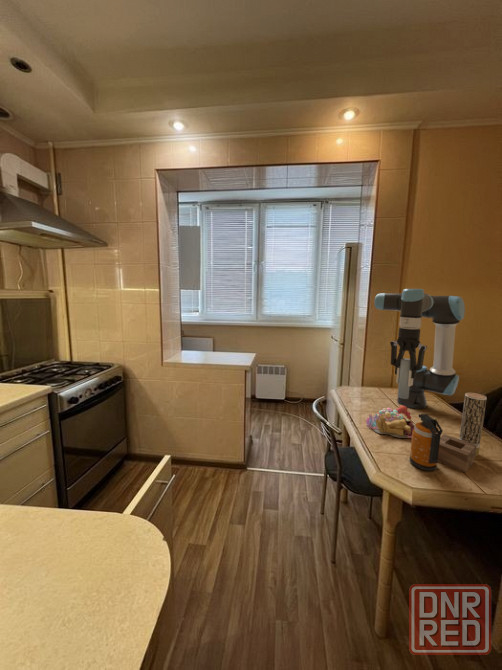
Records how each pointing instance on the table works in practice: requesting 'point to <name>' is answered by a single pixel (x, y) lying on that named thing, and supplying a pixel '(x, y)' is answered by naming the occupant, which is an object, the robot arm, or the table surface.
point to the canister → (425, 443)
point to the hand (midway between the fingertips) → (404, 383)
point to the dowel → (404, 379)
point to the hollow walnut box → (456, 452)
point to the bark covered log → (473, 419)
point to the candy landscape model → (392, 422)
